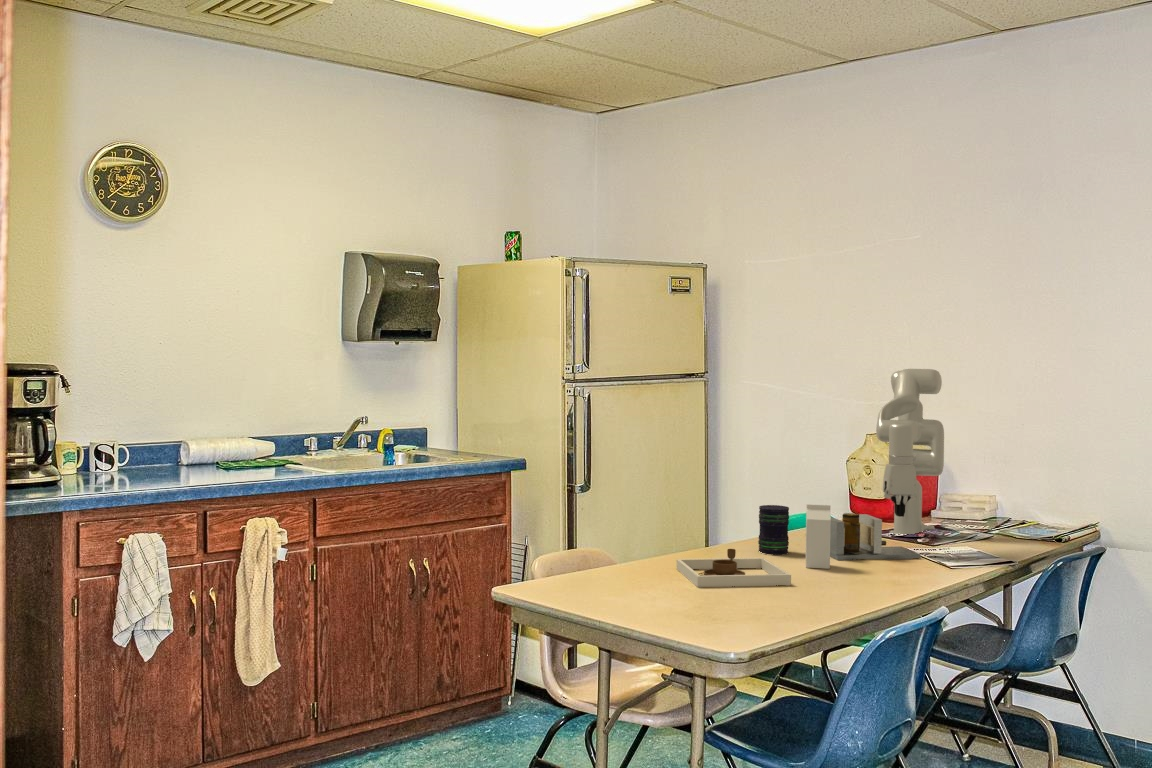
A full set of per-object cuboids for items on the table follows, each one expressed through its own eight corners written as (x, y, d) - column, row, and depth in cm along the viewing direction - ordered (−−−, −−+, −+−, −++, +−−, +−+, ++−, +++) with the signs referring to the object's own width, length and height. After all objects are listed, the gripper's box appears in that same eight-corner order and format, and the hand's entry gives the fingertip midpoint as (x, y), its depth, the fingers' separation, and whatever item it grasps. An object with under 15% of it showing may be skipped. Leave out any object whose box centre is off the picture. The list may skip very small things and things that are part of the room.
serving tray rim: (763, 567, 322) (763, 557, 322) (791, 585, 297) (791, 574, 297) (676, 569, 318) (676, 559, 318) (697, 587, 294) (697, 576, 294)
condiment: (850, 548, 349) (850, 512, 348) (869, 552, 341) (870, 515, 341) (834, 550, 345) (834, 513, 345) (853, 554, 338) (853, 517, 337)
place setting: (686, 576, 307) (687, 556, 307) (728, 567, 321) (729, 548, 321) (736, 586, 294) (736, 565, 294) (777, 576, 309) (777, 556, 308)
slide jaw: (877, 546, 351) (878, 514, 351) (893, 553, 339) (893, 519, 339) (856, 546, 350) (857, 514, 350) (872, 553, 338) (872, 519, 338)
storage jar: (794, 554, 345) (795, 508, 345) (768, 555, 342) (769, 509, 341) (777, 548, 354) (778, 504, 354) (752, 550, 351) (753, 505, 350)
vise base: (901, 550, 353) (901, 515, 353) (920, 558, 339) (921, 521, 339) (821, 552, 349) (821, 515, 349) (837, 560, 335) (837, 522, 335)
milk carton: (829, 569, 321) (830, 506, 320) (805, 568, 322) (806, 506, 322) (828, 564, 328) (830, 503, 327) (805, 563, 329) (806, 502, 329)
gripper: (916, 458, 352) (915, 513, 353) (874, 459, 350) (873, 514, 351) (927, 461, 344) (926, 517, 346) (883, 462, 342) (883, 518, 344)
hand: (899, 515), depth 348 cm, fingers closed
